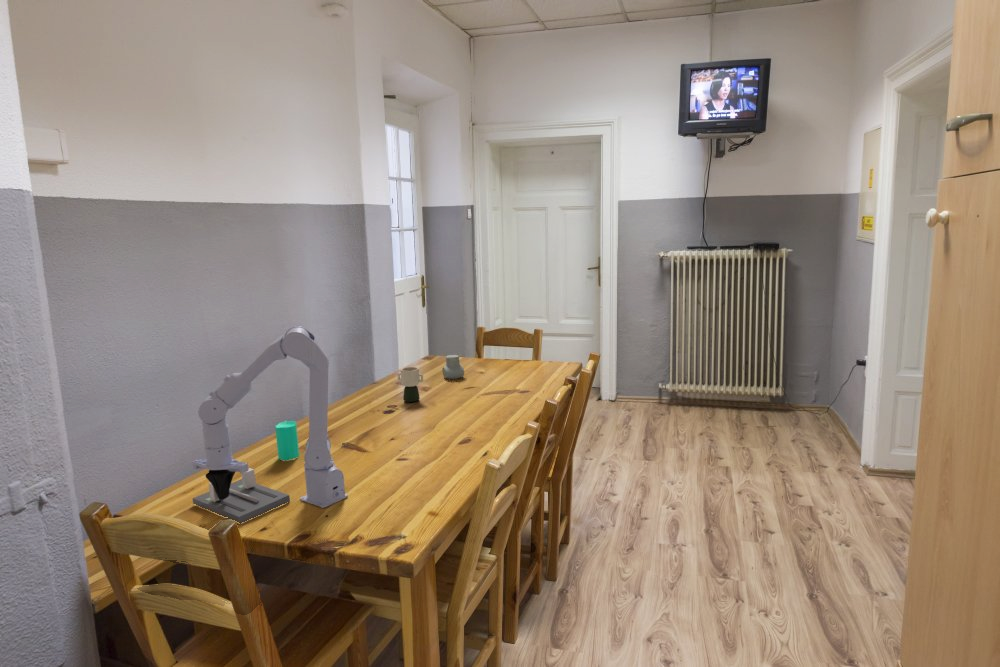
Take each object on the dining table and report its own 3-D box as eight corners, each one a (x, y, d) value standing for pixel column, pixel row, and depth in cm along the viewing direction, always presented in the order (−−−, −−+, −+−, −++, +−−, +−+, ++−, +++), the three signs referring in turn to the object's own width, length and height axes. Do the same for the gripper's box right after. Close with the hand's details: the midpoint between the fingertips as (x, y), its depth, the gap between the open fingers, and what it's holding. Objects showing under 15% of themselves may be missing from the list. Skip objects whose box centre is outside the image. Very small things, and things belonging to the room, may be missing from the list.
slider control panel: (290, 502, 160) (288, 491, 160) (240, 524, 149) (238, 512, 149) (243, 485, 172) (242, 475, 171) (193, 505, 161) (192, 494, 160)
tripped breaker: (224, 498, 159) (222, 481, 158) (215, 501, 157) (213, 484, 156) (219, 496, 160) (217, 479, 159) (210, 499, 158) (208, 483, 157)
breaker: (255, 485, 166) (254, 469, 165) (247, 488, 164) (245, 472, 163) (251, 483, 167) (249, 467, 166) (243, 487, 165) (241, 471, 164)
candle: (292, 452, 196) (288, 415, 194) (303, 456, 192) (299, 418, 190) (274, 458, 191) (270, 420, 189) (285, 462, 188) (282, 423, 186)
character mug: (428, 399, 250) (426, 367, 248) (420, 404, 243) (418, 371, 241) (403, 397, 254) (401, 366, 251) (394, 402, 247) (392, 370, 245)
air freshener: (441, 376, 287) (440, 354, 286) (459, 374, 290) (458, 353, 288) (447, 381, 277) (446, 359, 275) (465, 379, 279) (464, 357, 278)
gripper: (253, 441, 156) (259, 493, 158) (204, 437, 160) (210, 488, 162) (234, 451, 149) (240, 505, 151) (183, 447, 153) (190, 500, 155)
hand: (223, 497), depth 156 cm, fingers closed
